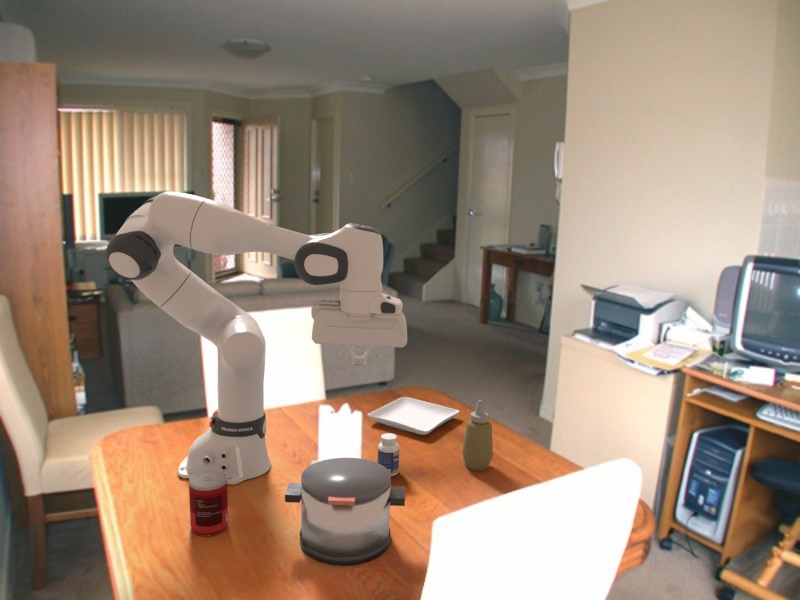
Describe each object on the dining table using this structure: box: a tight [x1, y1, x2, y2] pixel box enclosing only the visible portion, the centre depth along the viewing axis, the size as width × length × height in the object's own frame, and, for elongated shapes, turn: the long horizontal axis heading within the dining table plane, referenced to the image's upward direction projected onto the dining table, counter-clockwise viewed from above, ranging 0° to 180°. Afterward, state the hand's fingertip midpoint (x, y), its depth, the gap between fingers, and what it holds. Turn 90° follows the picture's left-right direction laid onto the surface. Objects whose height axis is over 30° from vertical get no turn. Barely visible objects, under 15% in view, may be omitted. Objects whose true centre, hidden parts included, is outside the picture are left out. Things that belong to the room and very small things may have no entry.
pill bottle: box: [377, 432, 400, 477], centre depth 164 cm, size 5×5×10 cm
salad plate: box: [367, 396, 460, 436], centre depth 199 cm, size 21×21×3 cm
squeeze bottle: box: [461, 399, 494, 472], centre depth 168 cm, size 8×8×18 cm
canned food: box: [188, 471, 229, 537], centre depth 137 cm, size 8×8×11 cm
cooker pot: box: [284, 482, 406, 567], centre depth 134 cm, size 24×20×12 cm
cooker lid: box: [300, 457, 392, 505], centre depth 131 cm, size 18×20×2 cm
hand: (359, 364), depth 140 cm, fingers closed
